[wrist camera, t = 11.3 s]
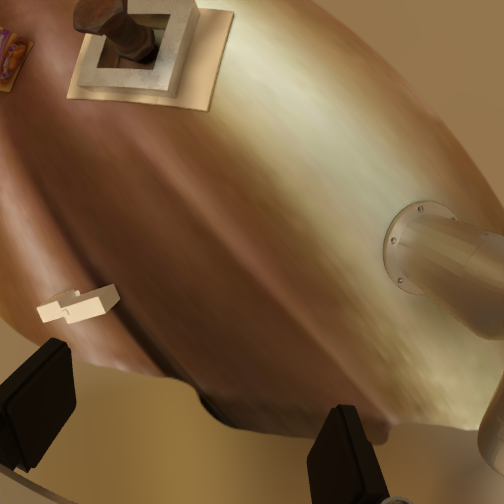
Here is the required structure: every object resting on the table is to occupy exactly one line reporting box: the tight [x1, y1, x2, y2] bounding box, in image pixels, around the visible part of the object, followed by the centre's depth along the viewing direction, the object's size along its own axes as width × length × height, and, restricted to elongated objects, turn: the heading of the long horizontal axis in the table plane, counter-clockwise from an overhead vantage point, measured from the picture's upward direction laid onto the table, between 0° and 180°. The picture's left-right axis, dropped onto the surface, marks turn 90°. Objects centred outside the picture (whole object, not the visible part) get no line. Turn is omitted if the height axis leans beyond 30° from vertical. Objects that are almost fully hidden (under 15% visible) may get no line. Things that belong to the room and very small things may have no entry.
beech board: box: [67, 8, 234, 112], centre depth 33 cm, size 20×14×1 cm
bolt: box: [73, 0, 158, 63], centre depth 27 cm, size 6×5×15 cm
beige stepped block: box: [37, 284, 120, 324], centre depth 39 cm, size 15×11×6 cm
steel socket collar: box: [77, 0, 200, 98], centre depth 31 cm, size 12×12×4 cm
